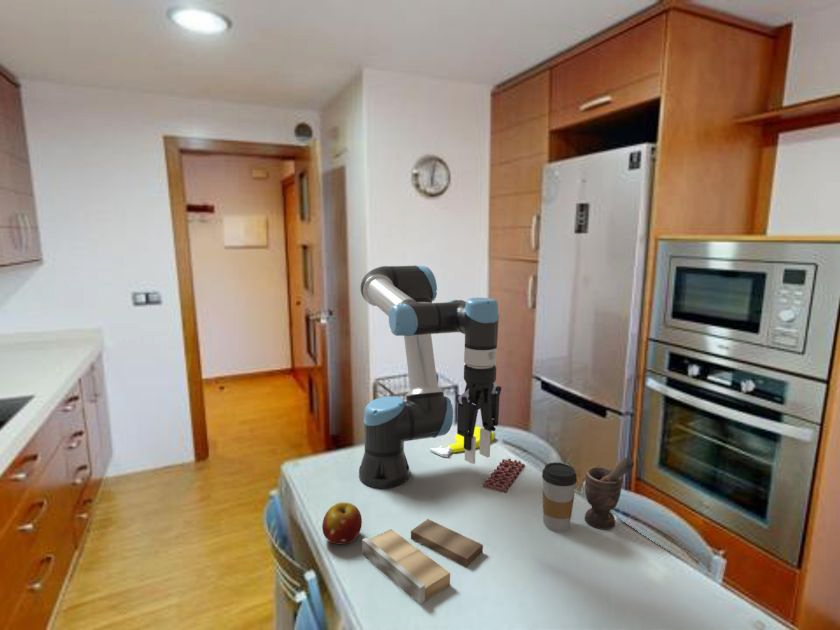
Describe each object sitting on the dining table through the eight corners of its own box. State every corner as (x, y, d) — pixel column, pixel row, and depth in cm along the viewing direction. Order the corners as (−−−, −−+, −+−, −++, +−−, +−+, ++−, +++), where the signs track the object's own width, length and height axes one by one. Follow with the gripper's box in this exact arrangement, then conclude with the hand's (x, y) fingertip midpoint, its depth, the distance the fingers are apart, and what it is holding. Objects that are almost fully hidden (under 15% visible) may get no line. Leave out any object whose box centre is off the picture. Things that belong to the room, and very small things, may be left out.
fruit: (343, 555, 111) (343, 523, 109) (314, 542, 115) (313, 511, 114) (369, 534, 119) (369, 503, 117) (341, 522, 123) (340, 492, 122)
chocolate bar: (525, 467, 155) (525, 461, 155) (505, 494, 138) (506, 488, 138) (503, 461, 158) (503, 456, 158) (482, 488, 142) (482, 481, 141)
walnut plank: (410, 540, 117) (410, 530, 117) (427, 528, 122) (427, 518, 122) (466, 569, 107) (466, 558, 107) (482, 554, 112) (482, 544, 112)
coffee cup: (575, 537, 118) (579, 479, 116) (539, 532, 120) (543, 475, 117) (571, 517, 126) (575, 463, 124) (538, 513, 128) (541, 460, 126)
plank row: (362, 553, 111) (362, 539, 111) (391, 539, 117) (391, 525, 116) (420, 604, 96) (420, 587, 96) (449, 585, 102) (450, 569, 101)
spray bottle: (497, 441, 174) (449, 463, 157) (473, 431, 182) (426, 452, 165) (497, 433, 173) (449, 454, 157) (474, 424, 181) (426, 444, 165)
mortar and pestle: (635, 525, 123) (641, 450, 120) (625, 541, 117) (631, 463, 114) (589, 508, 131) (594, 438, 127) (577, 523, 124) (582, 449, 121)
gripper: (465, 374, 106) (463, 475, 110) (516, 361, 117) (512, 453, 121) (441, 367, 111) (440, 463, 115) (492, 355, 123) (489, 443, 127)
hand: (477, 458), depth 118 cm, fingers open, 4 cm apart
